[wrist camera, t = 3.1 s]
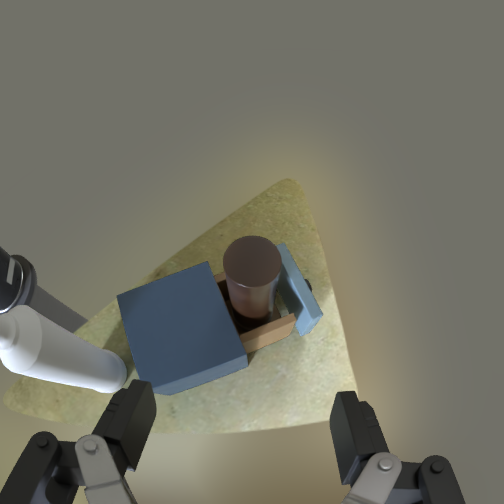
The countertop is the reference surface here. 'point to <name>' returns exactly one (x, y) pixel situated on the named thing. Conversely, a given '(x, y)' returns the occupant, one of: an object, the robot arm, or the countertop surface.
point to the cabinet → (181, 331)
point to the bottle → (56, 353)
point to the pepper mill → (252, 280)
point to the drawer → (294, 297)
